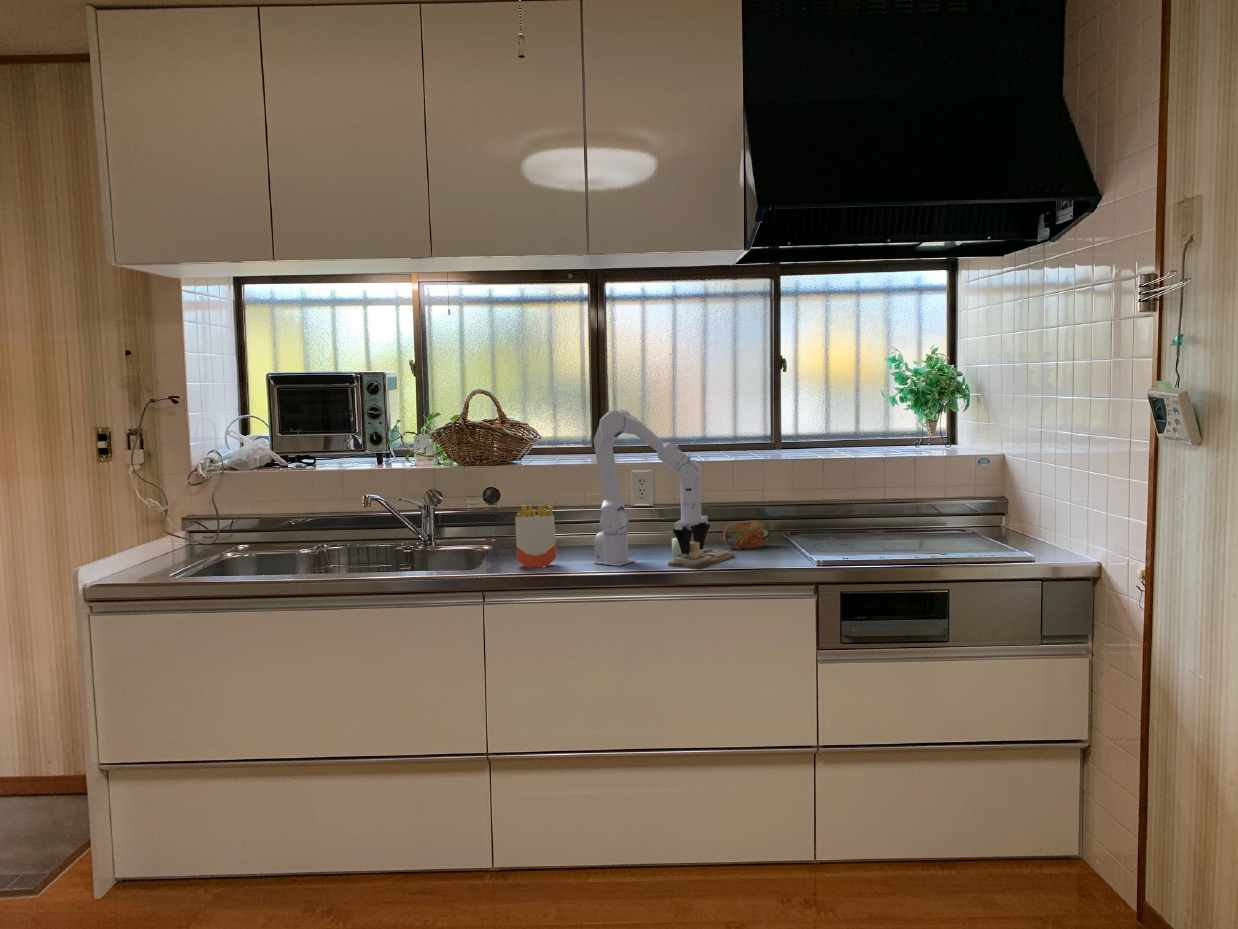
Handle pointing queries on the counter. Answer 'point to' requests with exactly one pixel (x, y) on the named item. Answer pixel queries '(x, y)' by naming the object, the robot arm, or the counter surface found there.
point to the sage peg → (676, 548)
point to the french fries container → (535, 536)
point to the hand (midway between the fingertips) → (692, 551)
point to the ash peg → (694, 551)
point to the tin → (746, 534)
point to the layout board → (702, 559)
